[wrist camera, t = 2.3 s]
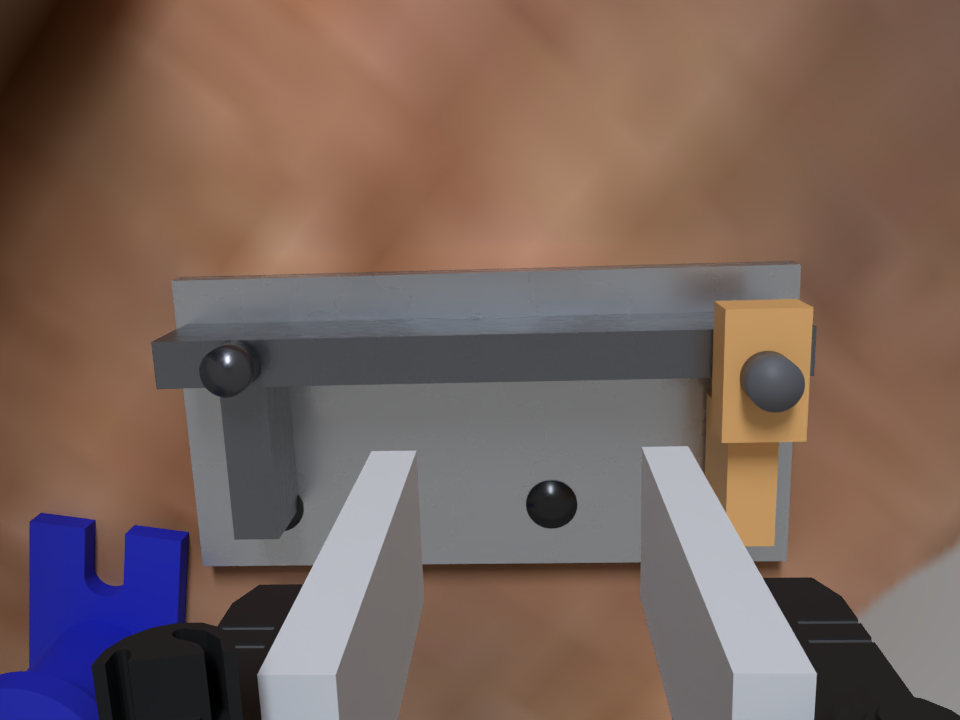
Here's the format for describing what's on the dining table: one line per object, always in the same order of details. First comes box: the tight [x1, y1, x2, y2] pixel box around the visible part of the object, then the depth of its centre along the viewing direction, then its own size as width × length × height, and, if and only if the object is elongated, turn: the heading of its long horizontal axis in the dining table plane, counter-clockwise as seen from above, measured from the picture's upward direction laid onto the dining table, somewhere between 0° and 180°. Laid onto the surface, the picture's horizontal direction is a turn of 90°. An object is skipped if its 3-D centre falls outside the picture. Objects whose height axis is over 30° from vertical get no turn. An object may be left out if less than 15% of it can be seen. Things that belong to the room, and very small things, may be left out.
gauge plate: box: [151, 261, 816, 566], centre depth 39 cm, size 28×14×7 cm, turn 92°
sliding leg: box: [705, 299, 813, 546], centre depth 36 cm, size 3×11×7 cm, turn 2°
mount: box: [0, 513, 189, 720], centre depth 42 cm, size 15×8×9 cm, turn 173°
